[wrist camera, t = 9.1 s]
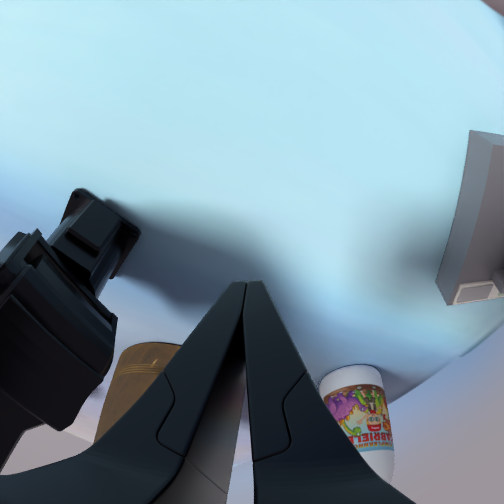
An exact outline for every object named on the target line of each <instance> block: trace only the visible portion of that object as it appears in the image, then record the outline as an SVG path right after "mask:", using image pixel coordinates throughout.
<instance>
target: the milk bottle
mask: <svg viewBox="0 0 504 504" xmlns="http://www.w3.org/2000/svg"><path fill="white" fill-rule="evenodd" d="M319 390H320V396H321V397H322V399H323V401H324V403H325V404H326V406H327V407H328V409H329V410H330V412H331V413H332V415H333V417H334V418H335V419H336V421H337V422H338V424H339V425H340V427H341V428H342V429H343V431H344V432H345V434H346V435H347V436H348V438H349V439H350V441H351V442H352V443H353V445H354V446H355V447H356V449H357V450H358V452H359V453H360V454H361V456H362V457H363V458H364V460H365V461H366V462H367V463H368V465H369V466H370V467H371V468H372V469H373V470H374V471H375V472H376V473H377V474H378V475H379V476H380V477H381V478H382V479H383V480H385V481H386V482H387V483H389V484H390V482H391V479H392V476H393V471H394V447H393V439H392V432H391V426H390V420H389V414H388V408H387V403H386V398H385V393H384V388H383V383H382V379H381V375H380V373H379V372H378V370H376V369H375V368H374V367H372V366H368V365H352V366H346V367H342V368H339V369H337V370H334V371H332V372H331V373H329V374H327V375H326V376H325V377H324V378H323V379H322V381H321V383H320V386H319Z"/></svg>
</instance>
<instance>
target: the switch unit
mask: <svg viewBox="0 0 504 504" xmlns="http://www.w3.org/2000/svg"><path fill="white" fill-rule="evenodd" d="M436 284H437V286H438V288H439V290H440V292H441V294H442V296H443V298H444V300H445V302H446V304H447V305H456V304H463V303H469V302H476V301H482V300H489V299H495V298H501V297H504V135H499V134H493V133H487V132H480V131H473V130H470V133H469V141H468V148H467V155H466V161H465V167H464V173H463V179H462V184H461V189H460V194H459V198H458V203H457V207H456V212H455V216H454V220H453V224H452V228H451V232H450V235H449V239H448V243H447V246H446V250H445V253H444V257H443V260H442V263H441V266H440V269H439V273H438V276H437V279H436Z"/></svg>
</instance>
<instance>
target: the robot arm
mask: <svg viewBox="0 0 504 504" xmlns="http://www.w3.org/2000/svg"><path fill="white" fill-rule="evenodd" d="M77 194H78V195H79V197H78V196H77ZM132 232H134V233H135V234H136V235H134V234H133V233H132ZM41 235H42V233H41V232H40V231H39V230H38V228H37V229H36V230H35V231H33V232H32V233H31V234H30V233H28V234H24V233H22V232H18V233H17V234H16V235H15V236H14V237H13V238H12V239H11V240H10V241H9V242H8V243H7V245H6V246H5V247H4V248H3V249H2V250H1V251H0V472H1V471H2V469H3V467H4V466H5V464H6V462H7V460H8V459H9V457H10V455H11V453H12V452H13V450H14V448H15V446H16V444H17V443H18V441H19V440H20V438H21V437H22V435H23V433H24V432H25V431H27V430H30V429H33V428H36V427H38V426H41V425H44V424H47V425H49V426H51V427H52V428H53V429H55V430H57V431H62V430H64V429H65V428H67V427H68V426H70V425H71V424H72V423H73V422H74V420H75V418H76V416H77V414H78V413H79V411H80V409H81V407H82V405H83V404H84V402H85V400H86V399H87V398H88V396H89V395H90V394H91V393H92V391H93V390H94V389H95V388H96V387H97V386H98V385H99V384H101V383H102V382H103V379H104V377H105V375H106V374H107V372H108V371H109V369H110V367H111V364H112V361H113V355H114V345H115V336H116V328H117V320H118V317H117V316H116V315H115V314H114V313H111V312H110V311H109V310H108V309H107V308H106V307H105V306H104V305H103V304H102V303H101V302H100V301H99V300H98V298H99V296H100V294H101V292H102V290H103V288H104V286H105V284H106V283H107V281H108V279H113V278H114V276H115V275H116V273H117V271H118V270H119V268H120V267H121V265H122V263H123V262H124V260H125V259H126V257H127V256H128V254H129V252H130V251H131V249H132V248H133V246H134V245H135V243H136V242H137V240H138V238H139V237H140V235H141V232H140V230H139V229H138V228H137V227H135V226H134V225H132V224H131V223H129V222H128V221H126V220H125V219H123V218H122V217H120V216H119V215H118V214H116V213H115V212H113V211H112V210H110V209H109V208H107V207H106V206H104V205H103V204H101V203H100V202H98V201H97V200H96V199H94V198H93V197H91V196H90V195H88V194H87V193H86V192H84V191H83V190H81V189H79V188H77V189H75V190H74V191H73V192H72V194H71V196H70V199H69V201H68V204H67V206H66V209H65V212H64V214H63V217H62V220H61V223H60V225H59V226H58V228H57V229H56V230H55V231H54V232H53V233H52V235H51V236H50V237H49V238H48V239H47V240H46V241H45V239H44V238H43V237H42V236H41ZM163 370H164V371H161V372H160V374H159V375H158V376H157V378H156V379H155V380H154V381H153V383H152V384H151V385H150V386H149V387H148V389H147V390H146V391H145V392H144V393H143V395H142V396H141V397H140V398H139V399H138V400H137V401H136V402H135V403H134V404H133V405H132V407H131V408H130V409H129V410H128V411H127V412H126V413H125V414H124V415H123V416H122V417H121V418H120V419H119V420H118V421H117V422H116V423H115V424H114V425H113V426H112V427H111V428H110V429H109V430H108V431H107V432H106V433H105V434H104V435H103V436H102V437H101V438H100V439H99V440H98V441H97V442H95V443H94V444H93V445H92V446H91V447H90V448H88V449H87V450H85V451H84V452H82V453H80V454H78V455H76V456H73V457H70V458H68V459H64V460H61V461H58V462H55V463H52V464H49V465H45V466H42V467H38V468H35V469H31V470H28V471H25V472H21V473H17V474H12V475H0V504H226V502H227V494H228V490H229V484H230V478H231V472H232V466H233V460H234V454H235V448H236V442H237V436H238V430H239V424H240V418H241V411H242V405H243V399H244V393H245V386H246V381H247V395H248V409H249V423H250V437H251V450H252V461H253V477H254V504H416V503H415V502H413V501H412V500H410V499H409V498H408V497H406V496H405V495H404V494H402V493H401V492H399V491H398V490H397V489H395V488H394V487H393V486H391V485H390V484H389V483H387V482H386V481H385V480H383V479H382V478H381V477H380V476H379V475H378V474H377V473H376V472H375V471H374V470H373V469H372V468H371V467H370V466H369V465H368V463H367V462H366V461H365V460H364V458H363V457H362V456H361V454H360V453H359V452H358V450H357V449H356V447H355V446H354V445H353V443H352V442H351V441H350V439H349V438H348V436H347V435H346V434H345V432H344V431H343V429H342V428H341V427H340V425H339V424H338V422H337V421H336V419H335V418H334V417H333V415H332V413H331V412H330V410H329V409H328V407H327V406H326V404H325V403H324V401H323V399H322V397H321V396H320V394H319V392H318V390H317V388H316V386H315V384H314V382H313V380H312V378H311V376H310V374H309V373H308V372H307V369H306V367H305V365H304V363H303V361H302V359H301V357H300V355H299V352H298V350H297V348H296V346H295V344H294V342H293V340H292V338H291V336H290V334H289V332H288V330H287V328H286V326H285V324H284V322H283V320H282V318H281V316H280V314H279V312H278V310H277V308H276V306H275V304H274V302H273V300H272V298H271V296H270V294H269V292H268V289H267V287H266V285H265V283H264V282H263V281H262V280H249V281H248V282H247V281H232V282H231V283H230V284H229V285H228V287H227V288H226V289H225V290H224V292H223V293H222V294H221V296H220V297H219V298H218V299H217V301H216V302H215V303H214V305H213V306H212V307H211V308H210V310H209V311H208V312H207V314H206V315H205V316H204V317H203V319H202V320H201V321H200V323H199V324H198V325H197V326H196V328H195V329H194V330H193V332H192V333H191V334H190V335H189V337H188V338H187V339H186V341H185V342H184V343H183V344H182V346H181V347H180V348H179V350H178V351H177V352H176V353H175V355H174V356H173V357H172V359H171V360H170V361H169V362H168V364H167V365H166V366H165V368H164V369H163Z"/></svg>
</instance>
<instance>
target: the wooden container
mask: <svg viewBox="0 0 504 504" xmlns="http://www.w3.org/2000/svg"><path fill="white" fill-rule="evenodd" d="M180 347H181V346H177V345H172V344H165V343H142V344H136V345H133V346H131V347H129V348H127V349H126V350H124V351H123V352H122V354H121V356H120V358H119V361H118V363H117V366H116V369H115V372H114V375H113V379H112V381H111V384H110V387H109V390H108V393H107V396H106V399H105V402H104V405H103V409H102V412H101V416H100V420H99V424H98V428H97V431H96V435H95V439H94V443H95V442H97V441H98V440H99V439H100V438H101V437H102V436H103V435H104V434H105V433H106V432H107V431H108V430H109V429H110V428H111V427H112V426H113V425H114V424H115V423H116V422H117V421H118V420H119V419H120V418H121V417H122V416H123V415H124V414H125V413H126V412H127V411H128V410H129V409H130V408H131V407H132V405H133V404H134V403H135V402H136V401H137V400H138V399H139V398H140V397H141V396H142V395H143V393H144V392H145V391H146V390H147V389H148V387H149V386H150V385H151V384H152V383H153V381H154V380H155V379H156V378H157V376H158V375H159V374H160V372H161V371H164V370H163V369H164V368H165V366H166V365H167V364H168V362H169V361H170V360H171V359H172V357H173V356H174V355H175V353H176V352H177V351H178V350H179V348H180ZM94 443H93V444H94Z"/></svg>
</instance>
